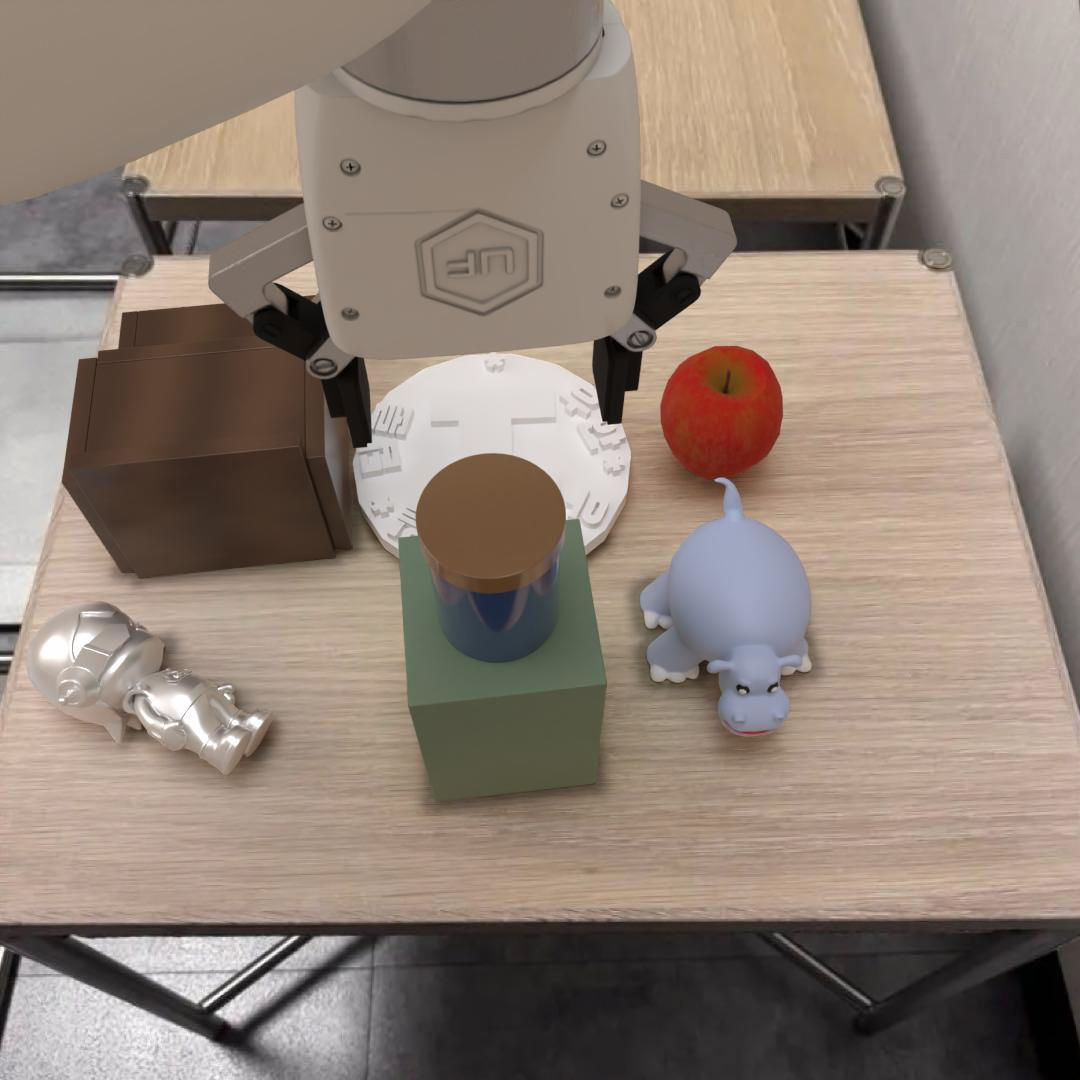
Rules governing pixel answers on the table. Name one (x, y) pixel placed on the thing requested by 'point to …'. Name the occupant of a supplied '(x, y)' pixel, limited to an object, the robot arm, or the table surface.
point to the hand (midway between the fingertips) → (485, 407)
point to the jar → (493, 554)
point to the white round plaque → (492, 439)
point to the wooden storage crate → (205, 448)
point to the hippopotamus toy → (733, 616)
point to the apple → (722, 411)
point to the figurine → (137, 686)
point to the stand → (505, 692)
